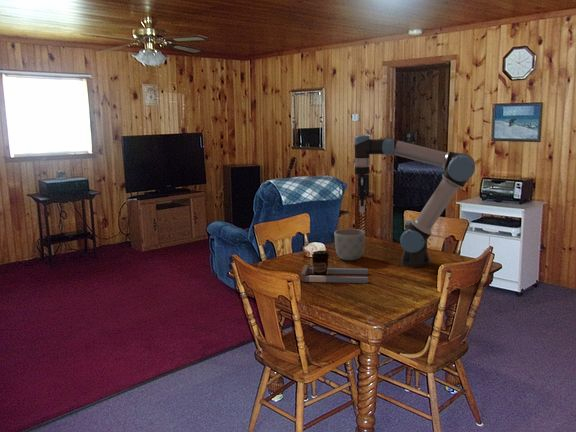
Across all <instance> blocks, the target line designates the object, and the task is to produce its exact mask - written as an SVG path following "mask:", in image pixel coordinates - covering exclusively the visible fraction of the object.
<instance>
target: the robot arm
mask: <svg viewBox="0 0 576 432" xmlns="http://www.w3.org/2000/svg"><path fill="white" fill-rule="evenodd" d="M353 146H354V147H353V148H354V159H353V161H352V162H353V163H354V174H355V175H359V177H358V178H357V180H358V181H357V182H358V187H359V197H358V199H357V200H358V201H359V204H358V205H359V213H365V211H366V210H365V209H366V201H365V200H366V199H367V197H366V194H365V192H366V191H365V187H366V182H367V177H365V175H369V174H370V173H371V172H370V163H371V162H370V161H371V157H370V155H385V156H388V155H394V156H398V157H401V158H406V159H410V160H413V161H416V162H421V163H424V164H429V165H432V166H434V167H435V166H437V167H439V168H442V169H443V172H442V174H441V177H442V179H441V181H440V183H439V184H438V186H437V187H436V189H435V190H434V191H433V193H432V195H431V196H430V197H429V199H428V200H427V202H426V204H425V205H424V207H423V208H422V210H421V211H420V213H419V214H418V216H417V217H416V219H412V220H406V221H405V222H404V231H403V233H402V234H401V235H400V238H399V240H400V241H399V242H400V246H401V247H402V249H403V252H402V255H401V259H400V264H401V265H403V266H405V267H409V268H425V267H426V268H427V267H429V266H431V258H430V255H429V251H428V239H429V238H430V237H431V235H432V234H433V233H432V228H433V227H434V225H435V224H436V222H437V221H438V219H439V218H440V216H441V215H442V213H443V212H444V211H445V209H446V208H447V206H448V204H449V203H450V201H451V200H452V199H453V197H454V195H455V194H456V193H457V191H458V190H459V189H462V188H464V187H465V186H466V185H467V183H468V181H469V180H470V179H471V178H472V177H473V175H474V174H475V171H476V163H475V159H474V158H473V157H472V156H471V155H469V154H467V153H464V152H463V153H462V152H453V151H447V152H445V151H442V150H441V151H440V150H437V149H433V148H429V147H425V146H422V145H417V144H413V143H410V142H407V141H406V142H405V141H402V140H397V139H393V138H391V137H383V138H378V139H376V138H375V139H373V138H372V139H371V138H370V135H366V134H363V135H359V134H358V135H355V136H354V145H353Z"/></svg>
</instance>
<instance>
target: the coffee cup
mask: <svg viewBox="0 0 576 432" xmlns="http://www.w3.org/2000/svg"><path fill="white" fill-rule="evenodd" d="M329 257H330V255H329V253H328V250H316V251H315V250H314V251H313V253H312V254H311V258H312V267H313V271H314V273H313V275H314V276H328V274H327V268H329Z"/></svg>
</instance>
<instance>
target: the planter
mask: <svg viewBox="0 0 576 432" xmlns="http://www.w3.org/2000/svg"><path fill="white" fill-rule="evenodd" d="M333 234H334V246H335V252H336V255H337V256H338V257H339V259H340V260H344V261H350V262H351V261H356V260H359V259H361V258H362V256H363V254H364V253H365V252H364V251H365V239H366V231H365V230H362V229H358V228H341V229H337V230H335V231H334V232H333Z"/></svg>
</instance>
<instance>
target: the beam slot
mask: <svg viewBox="0 0 576 432" xmlns="http://www.w3.org/2000/svg"><path fill="white" fill-rule="evenodd" d="M309 274H310V275H309ZM311 274H313V275H311ZM368 274H369V269H368V268H348V267H347V268H345V267H344V268H342V267H340V268H339V267H333V268H332V267H328V268H327V276H314V271H313V266H312V267H309V264H304V266H303V267H302V270H301V273H300V282H301V281H302V282H305V283H306V282H309V283H311V282H312V283H349V284H350V283H354V284H369V277H368V276H344V275H368ZM330 275H331V276H330ZM335 275H337V276H335ZM338 275H341V276H338ZM342 275H343V276H342Z"/></svg>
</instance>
